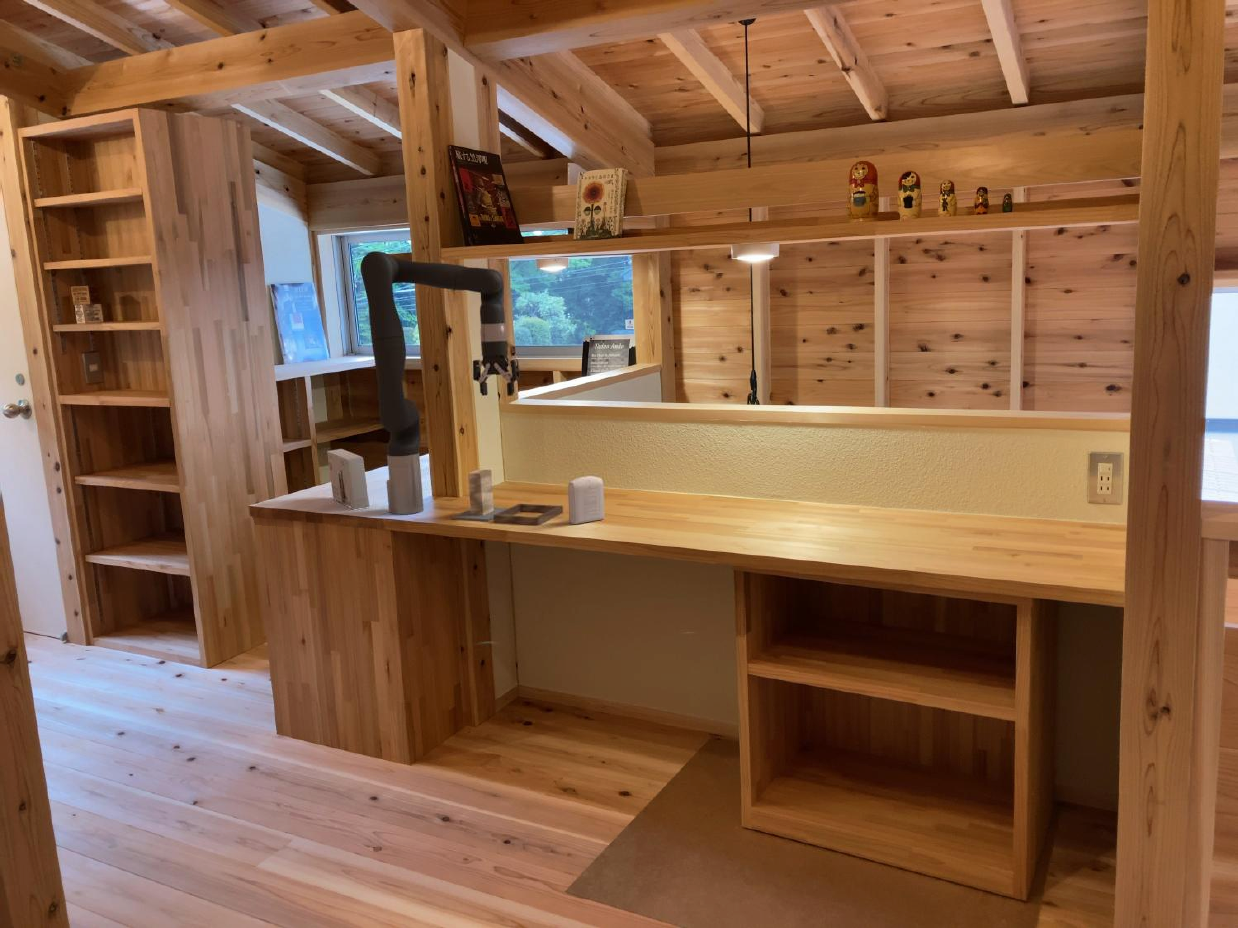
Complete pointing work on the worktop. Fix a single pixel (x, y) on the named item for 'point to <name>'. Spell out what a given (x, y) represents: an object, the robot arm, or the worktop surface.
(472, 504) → the block
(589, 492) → the photo printer
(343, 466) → the skincare box
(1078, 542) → the worktop surface
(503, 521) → the frame
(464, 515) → the grey mat
